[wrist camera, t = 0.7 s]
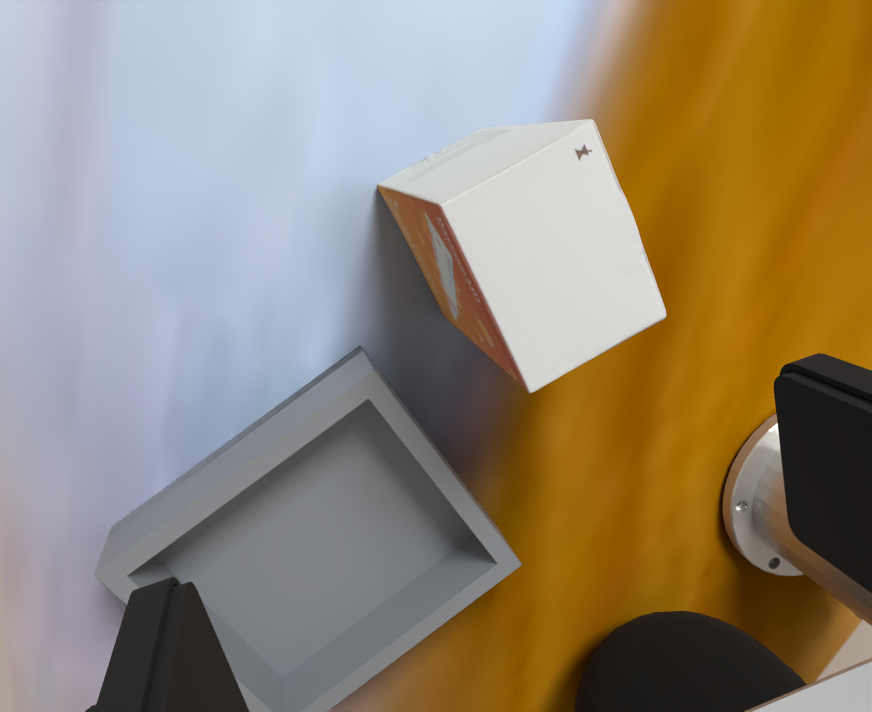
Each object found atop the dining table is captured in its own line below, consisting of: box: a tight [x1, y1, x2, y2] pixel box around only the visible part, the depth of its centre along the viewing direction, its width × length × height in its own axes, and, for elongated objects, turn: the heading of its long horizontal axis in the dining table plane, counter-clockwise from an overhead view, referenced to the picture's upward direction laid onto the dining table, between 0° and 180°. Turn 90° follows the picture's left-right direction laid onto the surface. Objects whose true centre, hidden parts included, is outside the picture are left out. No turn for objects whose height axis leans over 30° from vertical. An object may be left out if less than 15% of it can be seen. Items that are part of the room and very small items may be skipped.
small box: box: [377, 119, 666, 393], centre depth 31 cm, size 8×6×13 cm
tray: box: [94, 346, 522, 712], centre depth 38 cm, size 14×16×4 cm
